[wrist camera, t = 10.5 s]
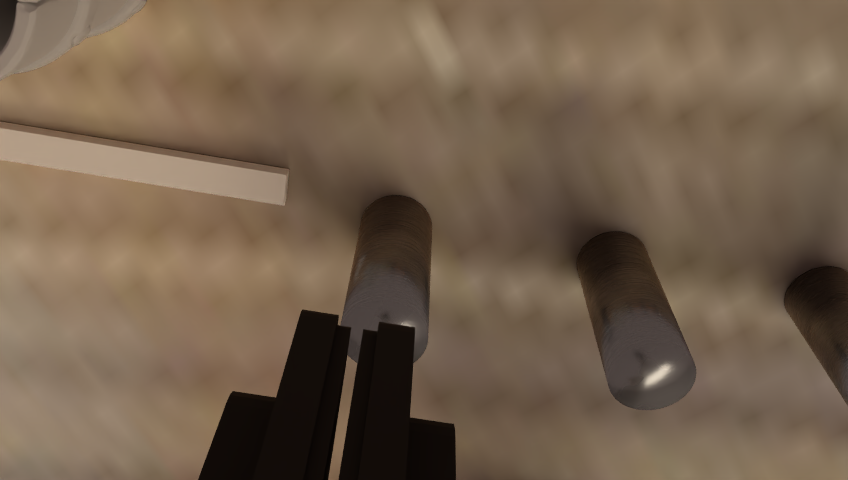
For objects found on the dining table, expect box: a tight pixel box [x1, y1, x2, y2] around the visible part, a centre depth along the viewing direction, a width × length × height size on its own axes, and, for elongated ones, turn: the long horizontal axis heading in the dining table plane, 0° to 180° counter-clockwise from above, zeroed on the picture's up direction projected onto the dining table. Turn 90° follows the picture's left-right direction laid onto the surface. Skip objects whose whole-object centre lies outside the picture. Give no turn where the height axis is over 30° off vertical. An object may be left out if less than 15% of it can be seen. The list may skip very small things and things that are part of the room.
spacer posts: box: [341, 195, 848, 410], centre depth 27 cm, size 22×23×8 cm
